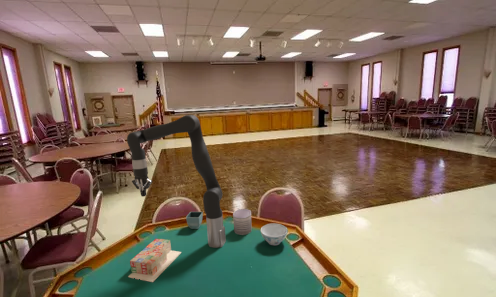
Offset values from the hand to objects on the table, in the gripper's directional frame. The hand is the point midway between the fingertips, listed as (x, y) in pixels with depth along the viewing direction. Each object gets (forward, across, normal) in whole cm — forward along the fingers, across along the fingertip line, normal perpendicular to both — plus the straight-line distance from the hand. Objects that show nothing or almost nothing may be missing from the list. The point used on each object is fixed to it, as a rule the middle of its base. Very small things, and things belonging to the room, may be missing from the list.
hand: (143, 196), depth 147 cm
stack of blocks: (+26, -10, +16) cm, 31 cm away
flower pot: (+29, -18, -23) cm, 41 cm away
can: (+29, -50, -26) cm, 64 cm away
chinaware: (+29, -72, -17) cm, 80 cm away
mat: (+29, -18, +17) cm, 38 cm away
